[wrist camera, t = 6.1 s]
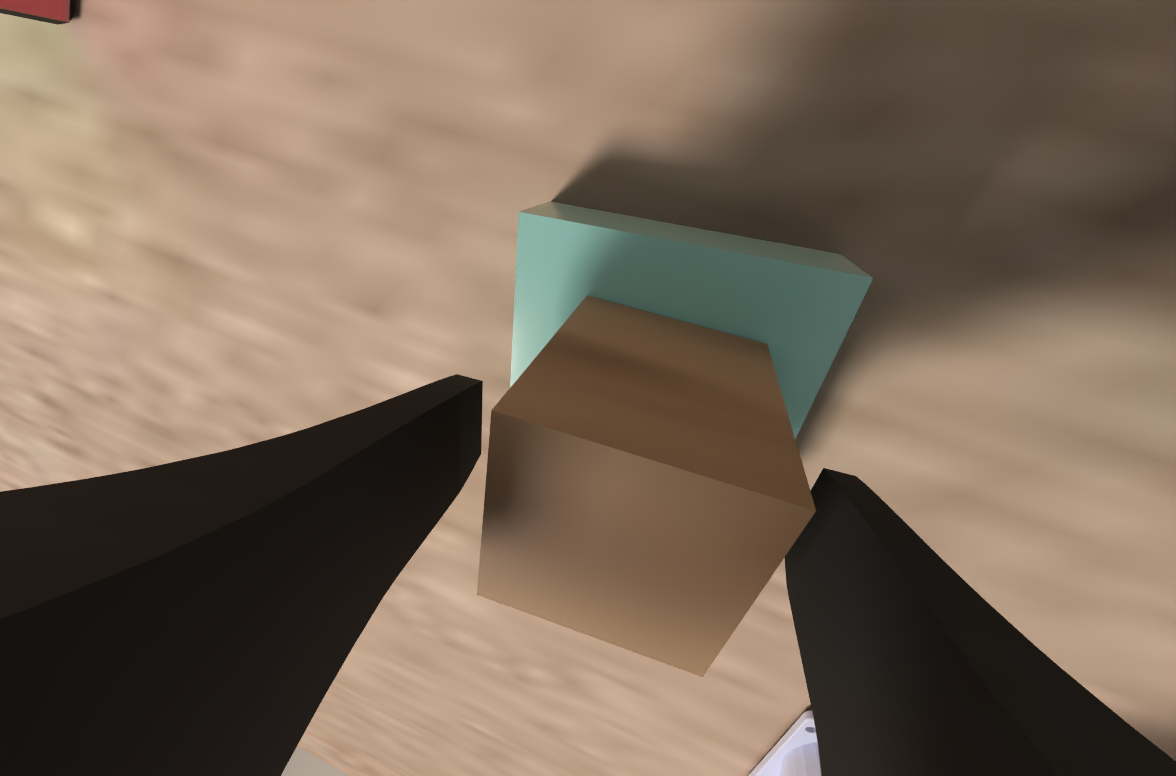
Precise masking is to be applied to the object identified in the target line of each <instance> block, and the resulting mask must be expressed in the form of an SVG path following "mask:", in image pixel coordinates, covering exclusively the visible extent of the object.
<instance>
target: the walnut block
mask: <svg viewBox="0 0 1176 776" xmlns="http://www.w3.org/2000/svg"><path fill="white" fill-rule="evenodd" d="M815 512H816V509H815V505H814V502H813V498H812V495H811V492H810V488H809V485H808V481H807V478H806V475H805V471H804V468H803V464H802V461H801V457H800V454H799V451H798V447H797V444H796V440H795V437H794V434H793V430H792V427H791V423H790V420H789V417H788V413H787V410H786V406H785V403H784V400H783V396H782V393H781V389H780V386H779V383H778V379H777V376H776V372H775V369H774V365H773V362H772V359H771V355H770V352H769V348H768V345H767V344H766V343H763V342H759V341H755V340H751V339H748V338H744V337H740V336H737V335H733V334H729V333H725V332H722V331H718V330H714V329H710V328H707V327H703V326H699V325H696V324H692V323H688V322H684V321H681V320H677V319H673V318H670V317H666V316H662V315H658V314H655V313H651V312H647V311H644V310H640V309H636V308H632V307H629V306H625V305H621V304H617V303H614V302H610V301H606V300H603V299H599V298H595V297H591V296H588V295H587V296H586V297H585V298H584V300H583V301H582V302H581V303H580V304H579V306H578V307H577V308H576V309H575V310H574V312H573V313H572V314H571V315H570V316H569V318H568V319H567V320H566V321H565V322H564V324H563V325H562V326H561V327H560V329H559V330H558V331H557V332H556V333H555V335H554V336H553V337H552V338H551V339H550V341H549V342H548V343H547V344H546V345H545V347H544V348H543V349H542V350H541V351H540V353H539V354H538V355H537V356H536V357H535V359H534V360H533V361H532V362H531V363H530V365H529V366H528V367H527V368H526V370H525V371H524V372H523V373H522V374H521V376H520V377H519V378H518V379H517V380H516V382H515V383H514V384H513V385H512V386H511V388H510V389H509V390H508V391H507V392H506V394H505V395H504V396H503V397H502V398H501V400H500V401H499V402H498V403H497V405H496V406H495V407H494V408H493V409H492V412H491V424H490V437H489V450H488V462H487V475H486V488H485V501H484V513H483V526H482V539H481V551H480V564H479V577H478V589H477V595H479V596H482V597H485V598H487V599H490V600H493V601H496V602H498V603H501V604H504V605H507V606H509V607H512V608H515V609H518V610H520V611H523V612H526V613H529V614H531V615H534V616H537V617H540V618H542V619H545V620H548V621H551V622H553V623H556V624H559V625H561V626H564V627H567V628H570V629H572V630H575V631H578V632H581V633H583V634H586V635H589V636H592V637H594V638H597V639H600V640H603V641H605V642H608V643H611V644H614V645H616V646H619V647H622V648H625V649H627V650H630V651H633V652H636V653H638V654H641V655H644V656H647V657H649V658H652V659H655V660H657V661H660V662H663V663H666V664H668V665H671V666H674V667H677V668H679V669H682V670H685V671H688V672H690V673H693V674H696V675H699V676H701V677H703V676H704V674H705V673H706V671H707V670H708V668H709V667H710V665H711V664H712V662H713V661H714V660H715V658H716V657H717V655H718V654H719V652H720V651H721V649H722V648H723V646H724V645H725V643H726V642H727V641H728V639H729V638H730V636H731V635H732V633H733V632H734V630H735V629H736V627H737V626H738V624H739V623H740V622H741V620H742V619H743V617H744V616H745V614H746V613H747V611H748V610H749V608H750V607H751V605H752V604H753V603H754V601H755V600H756V598H757V597H758V595H759V594H760V592H761V591H762V589H763V588H764V586H765V585H766V584H767V582H768V581H769V579H770V578H771V576H772V575H773V573H774V572H775V570H776V569H777V567H778V566H779V565H780V563H781V562H782V560H783V559H784V557H785V556H786V554H787V553H788V551H789V550H790V548H791V547H792V546H793V544H794V543H795V541H796V540H797V538H798V537H799V535H800V534H801V532H802V531H803V529H804V528H805V527H806V525H807V524H808V522H809V521H810V519H811V518H812V516H813V515H814V513H815Z"/></svg>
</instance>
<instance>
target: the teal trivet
mask: <svg viewBox="0 0 1176 776" xmlns="http://www.w3.org/2000/svg"><path fill="white" fill-rule="evenodd" d="M872 280H873V277H871V276H870V275H869V274H867V273H866V272H864V271H863V270H862V269H860V268H859V267H858V266H856V265H855V264H854V263H852V262H851V261H849V260H848V259H847V258H845V257H844V256H843V255H841V254H837V253H832V252H826V251H821V250H815V249H810V248H804V247H799V246H793V245H788V244H782V243H777V242H771V241H766V240H760V239H755V238H749V237H744V236H738V235H733V234H727V233H722V232H716V231H711V230H706V229H700V228H695V227H689V226H684V225H678V224H673V223H667V222H662V221H656V220H651V219H645V218H640V217H634V216H629V215H623V214H618V213H612V212H607V211H601V210H596V209H590V208H585V207H579V206H574V205H568V204H563V203H557V202H552V201H551V202H547V203H544V204H541V205H538V206H535V207H532V208H529V209H526V210H523V211H520V212H519V218H518V239H517V260H516V280H515V301H514V322H513V342H512V363H511V384H510V388H511V386H512V385H513V384H514V383H515V382H516V380H517V379H518V378H519V377H520V376H521V374H522V373H523V372H524V371H525V370H526V368H527V367H528V366H529V365H530V363H531V362H532V361H533V360H534V359H535V357H536V356H537V355H538V354H539V353H540V351H541V350H542V349H543V348H544V347H545V345H546V344H547V343H548V342H549V341H550V339H551V338H552V337H553V336H554V335H555V333H556V332H557V331H558V330H559V329H560V327H561V326H562V325H563V324H564V322H565V321H566V320H567V319H568V318H569V316H570V315H571V314H572V313H573V312H574V310H575V309H576V308H577V307H578V306H579V304H580V303H581V302H582V301H583V300H584V298H585V297H586V296H587V295H588V296H591V297H595V298H599V299H603V300H606V301H610V302H614V303H617V304H621V305H625V306H629V307H632V308H636V309H640V310H644V311H647V312H651V313H655V314H658V315H662V316H666V317H670V318H673V319H677V320H681V321H684V322H688V323H692V324H696V325H699V326H703V327H707V328H710V329H714V330H718V331H722V332H725V333H729V334H733V335H737V336H740V337H744V338H748V339H751V340H755V341H759V342H763V343H766V344H767V345H768V348H769V352H770V355H771V359H772V362H773V365H774V369H775V372H776V376H777V379H778V383H779V386H780V389H781V393H782V396H783V400H784V403H785V406H786V410H787V413H788V417H789V420H790V423H791V427H792V430H793V434H794V437H795V439H796V437H797V435H798V433H799V430H800V428H801V426H802V424H803V422H804V420H805V418H806V416H807V414H808V412H809V410H810V408H811V406H812V404H813V402H814V400H815V398H816V395H817V393H818V391H819V389H820V387H821V385H822V383H823V381H824V379H825V377H826V375H827V373H828V371H829V369H830V367H831V365H832V363H833V361H834V358H835V356H836V354H837V352H838V350H839V348H840V346H841V344H842V342H843V340H844V338H845V336H846V334H847V332H848V330H849V328H850V326H851V323H852V321H853V319H854V317H855V315H856V313H857V311H858V309H859V307H860V305H861V303H862V301H863V299H864V297H865V295H866V293H867V291H868V288H869V286H870V284H871V282H872Z"/></svg>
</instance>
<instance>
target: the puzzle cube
mask: <svg viewBox="0 0 1176 776" xmlns="http://www.w3.org/2000/svg"><path fill="white" fill-rule="evenodd" d="M0 13H3V14H8V15H13V16H18V17H23V18H28V19H33V20H38V21H43V22H49V23H54V24H64V23H69V21H70V20H71V18H72V0H0Z"/></svg>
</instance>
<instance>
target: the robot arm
mask: <svg viewBox="0 0 1176 776" xmlns="http://www.w3.org/2000/svg"><path fill="white" fill-rule="evenodd" d="M482 383H483V381H480V380H476V379H473V378H469V377H465V376H461V375H454V376H450V377H447V378H444V379H441V380H438V381H436V382H433V383H430V384H428V385H425V386H422V387H420V388H417V389H415V390H412V391H410V392H407V393H404V394H402V395H399V396H397V397H394V398H391V399H389V400H386V401H384V402H381V403H378V404H376V405H373V406H371V407H368V408H365V409H362V410H360V411H357V412H354V413H351V414H348V415H345V416H342V417H339V418H336V419H333V420H330V421H328V422H325V423H322V424H319V425H316V426H313V427H310V428H307V429H304V430H300V431H297V432H294V433H291V434H287V435H284V436H280V437H277V438H273V439H270V440H266V441H262V442H258V443H255V444H251V445H247V446H243V447H240V448H236V449H232V450H228V451H224V452H219V453H214V454H210V455H205V456H200V457H196V458H191V459H187V460H182V461H177V462H173V463H168V464H163V465H159V466H154V467H149V468H145V469H139V470H134V471H129V472H123V473H117V474H112V475H106V476H100V477H94V478H89V479H83V480H76V481H70V482H63V483H57V484H51V485H44V486H38V487H31V488H24V489H17V490H10V491H3V492H0V776H281V774H282V772H283V770H284V768H285V766H286V765H287V763H288V761H289V759H290V758H291V756H292V754H293V752H294V750H295V748H296V747H297V745H298V743H299V741H300V739H301V737H302V736H303V734H304V732H305V730H306V728H307V727H308V725H309V723H310V721H311V719H312V717H313V716H314V714H315V712H316V710H317V708H318V707H319V705H320V703H321V701H322V699H323V698H324V696H325V694H326V692H327V691H328V689H329V687H330V685H331V684H332V682H333V680H334V679H335V677H336V675H337V673H338V672H339V670H340V668H341V666H342V665H343V663H344V661H345V660H346V658H347V656H348V654H349V653H350V651H351V649H352V647H353V646H354V644H355V642H356V641H357V639H358V638H359V636H360V634H361V633H362V631H363V629H364V628H365V626H366V624H367V623H368V621H369V619H370V618H371V616H372V614H373V613H374V611H375V610H376V608H377V606H378V605H379V603H380V601H381V600H382V598H383V596H384V595H385V594H386V592H387V591H388V589H389V588H390V586H391V585H392V583H393V582H394V580H395V579H396V578H397V576H398V575H399V573H400V572H401V571H402V569H403V568H404V567H405V565H406V564H407V563H408V561H409V560H410V559H411V557H412V556H413V555H414V553H415V552H416V551H417V549H418V548H419V547H420V545H421V544H422V543H423V541H424V540H425V539H426V537H427V536H428V534H429V533H430V532H431V530H432V529H433V528H434V526H435V525H436V524H437V522H438V521H439V520H440V518H441V517H442V516H443V514H444V513H445V512H446V510H447V509H448V507H449V506H450V505H451V503H452V502H453V501H454V499H455V498H456V496H457V495H458V494H459V492H460V491H461V489H462V487H463V486H464V484H465V482H466V480H467V479H468V477H469V475H470V473H471V472H472V470H473V468H474V466H475V464H476V462H477V460H478V458H479V457H480V455H481V434H482ZM810 492H811V495H812V498H813V502H814V505H815V509H816V512H815V513H814V515H813V516H812V518H811V519H810V521H809V522H808V524H807V525H806V527H805V528H804V529H803V531H802V532H801V534H800V535H799V537H798V538H797V540H796V541H795V543H794V544H793V546H792V547H791V548H790V550H789V551H788V553H787V554H786V556H785V569H786V581H787V589H788V595H789V600H790V605H791V610H792V615H793V620H794V625H795V630H796V635H797V640H798V645H799V649H800V654H801V659H802V664H803V669H804V673H805V678H806V683H807V688H808V693H809V698H810V702H811V707H812V711H806V712H804V713H803V714H802V715H801V717H800V718H799V719H798V720H797V721H796V722H795V723H794V724H793V726H792V727H791V728H790V729H789V730H788V731H787V732H786V734H785V735H784V736H783V737H782V738H781V739H780V740H779V741H778V743H777V744H776V745H775V746H774V747H773V748H772V749H771V751H770V752H769V753H768V754H767V755H766V756H765V757H764V758H763V760H762V761H761V762H760V763H759V764H758V765H757V766H756V768H755V769H754V770H753V771H752V772H751V773H750V774H749V775H748V776H1176V761H1174V760H1173V759H1172V758H1171V757H1169V756H1168V755H1167V754H1166V753H1164V752H1163V751H1162V750H1160V749H1159V748H1158V747H1157V746H1155V745H1154V744H1153V743H1152V742H1150V741H1149V740H1148V739H1147V738H1145V737H1144V736H1143V735H1142V734H1140V733H1139V732H1138V731H1136V730H1135V729H1134V728H1133V727H1131V726H1130V725H1129V724H1128V723H1126V722H1125V721H1124V720H1123V719H1122V718H1120V717H1119V716H1118V715H1117V714H1116V713H1114V712H1113V711H1112V710H1111V709H1110V708H1108V707H1107V706H1106V705H1105V704H1104V703H1102V702H1101V701H1100V700H1099V699H1097V698H1096V697H1095V696H1094V695H1093V694H1091V693H1090V692H1089V691H1088V690H1087V689H1085V688H1084V687H1083V686H1082V685H1081V684H1079V683H1078V682H1077V681H1076V680H1075V679H1073V678H1072V677H1071V676H1070V675H1069V674H1067V673H1066V672H1065V671H1064V670H1063V669H1061V668H1060V667H1059V666H1058V665H1057V664H1056V663H1054V662H1053V661H1052V660H1051V659H1050V658H1049V657H1047V656H1046V655H1045V654H1044V653H1043V652H1042V651H1041V650H1039V649H1038V648H1037V647H1036V646H1035V645H1034V644H1033V643H1031V642H1030V641H1029V640H1028V639H1027V638H1026V637H1025V636H1024V635H1023V634H1021V633H1020V632H1019V631H1018V630H1017V629H1016V628H1015V627H1014V626H1013V625H1012V624H1010V623H1009V622H1008V621H1007V620H1006V619H1005V618H1004V617H1003V616H1002V615H1001V614H999V613H998V612H997V611H996V610H995V609H994V608H993V607H992V606H991V605H990V604H988V603H987V602H986V601H985V600H984V599H983V598H982V597H981V596H980V595H979V594H978V593H977V592H976V591H975V590H974V589H972V588H971V587H970V586H969V585H968V584H967V583H966V582H965V581H964V580H963V579H962V578H961V577H960V576H959V575H958V574H957V573H956V572H955V571H954V570H953V569H952V568H951V567H950V566H948V565H947V564H946V563H945V562H944V561H943V560H942V559H941V558H940V557H939V556H938V555H937V554H936V553H935V552H934V551H933V550H932V549H931V548H930V547H929V546H928V545H927V544H926V543H925V542H924V541H923V540H922V539H921V538H920V537H919V536H918V535H917V534H916V533H915V532H914V531H913V530H912V529H911V528H910V527H909V526H908V525H907V524H906V523H905V522H904V521H903V520H902V519H901V518H900V517H899V516H898V515H897V514H896V513H895V512H894V511H893V510H892V509H891V508H890V507H889V506H888V505H887V504H886V503H885V502H884V501H883V500H882V499H881V498H880V497H879V496H878V495H876V494H875V493H874V492H873V491H872V490H871V489H870V488H869V487H868V486H867V485H866V484H865V483H863V482H862V481H861V480H860V479H859V478H857V477H856V476H853V475H849V474H845V473H841V472H837V471H833V470H829V469H825V468H823V470H822V472H821V473H820V475H819V477H818V479H817V481H816V482H815V484H814V486H813V488H812V489H811V491H810Z"/></svg>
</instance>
